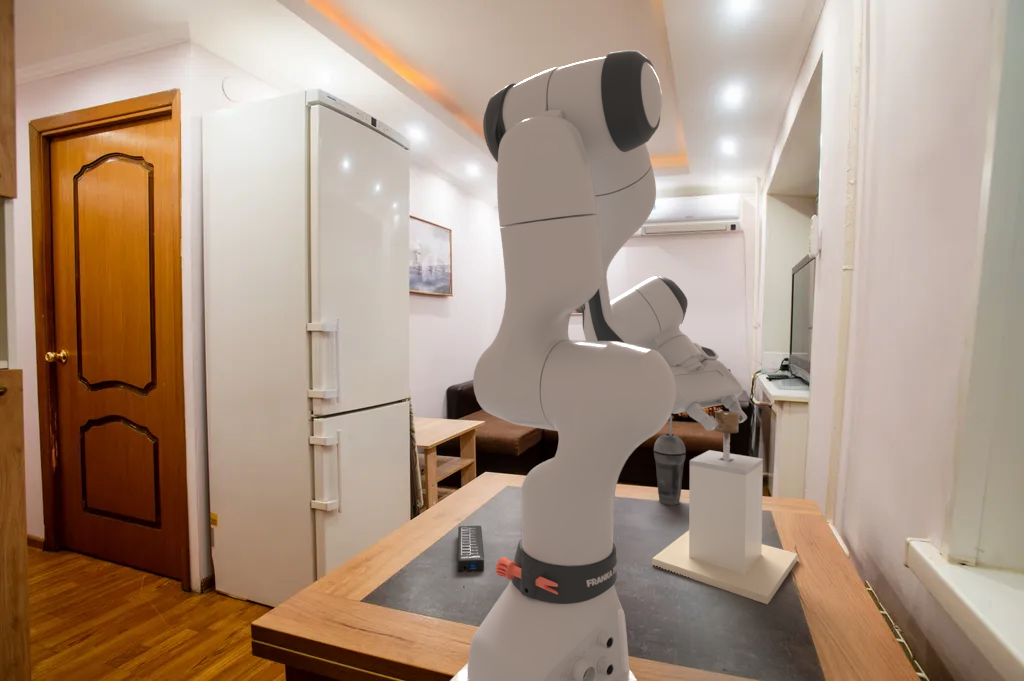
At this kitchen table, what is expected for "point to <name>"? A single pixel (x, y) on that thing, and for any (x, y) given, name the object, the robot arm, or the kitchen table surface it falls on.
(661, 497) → the beverage cup
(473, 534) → the multiport hub
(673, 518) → the kitchen table surface
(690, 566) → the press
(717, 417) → the plunger
